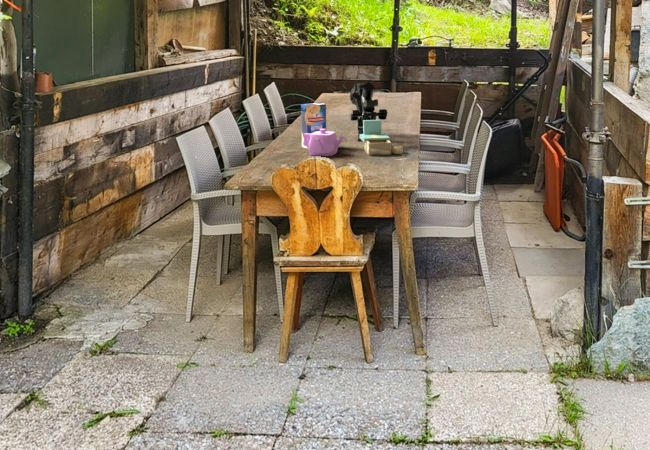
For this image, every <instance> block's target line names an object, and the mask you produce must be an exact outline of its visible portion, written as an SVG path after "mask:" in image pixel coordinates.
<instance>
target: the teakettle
mask: <svg viewBox="0 0 650 450" xmlns="http://www.w3.org/2000/svg"><path fill="white" fill-rule="evenodd" d="M309 137H310V139H309ZM345 137H346V136H345V135H340V136H339V138H338V137H337V133H336V131H329V130H328V131H327V128H326V129H320V131H316V132H313V133H312V134H304V144H303V145H305V146H306V147H308V154H309V156H313V157H332V156H334V155H336V154H337V153H338V150H339V146H341V144H342V142H343V141H344V139H345ZM337 138H338V139H337Z"/></svg>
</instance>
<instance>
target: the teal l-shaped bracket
mask: <svg viewBox="0 0 650 450" xmlns="http://www.w3.org/2000/svg"><path fill="white" fill-rule="evenodd" d="M360 139H361V140H362V141H361V142H363V143H364V142H365V140H381V139H388V140H389V141H390V142H391V137H390V136H388V135H387V134H386V133H384V132H383V133H382V120H380V119H376V120H363V134H360Z"/></svg>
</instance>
